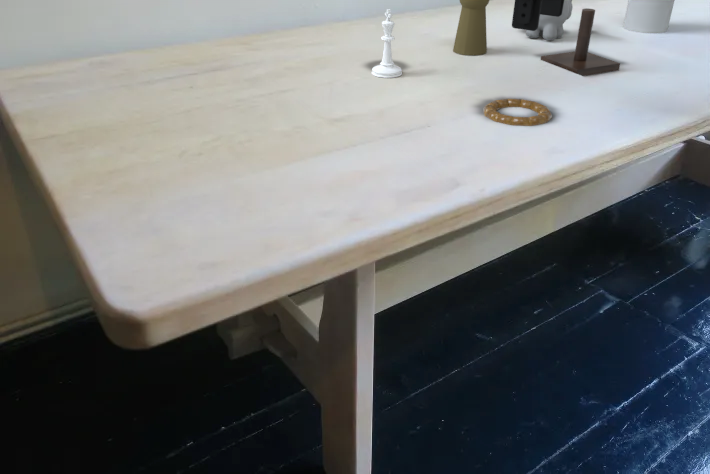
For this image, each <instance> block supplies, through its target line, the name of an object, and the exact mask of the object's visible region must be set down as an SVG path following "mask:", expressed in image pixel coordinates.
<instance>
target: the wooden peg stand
mask: <svg viewBox="0 0 710 474" xmlns="http://www.w3.org/2000/svg"><path fill="white" fill-rule="evenodd" d="M595 14H596V9H595V8H589V7H588V8H582V9H581V14H580V21H579V26H578V33H577V38H576V44H575V49H574V51H567V52H560V53H553V54H547V55H546V54H545V55H541V56H540V61H543V62H545V63H547V64H550V65H552V66H555V67H558V68H561V69H563V70H566V71H568V72H571V73H574V74H576V75H579V76H581V77H587V76H592V75H593V76H594V75H599V74H605V73H612V72H617V71H620V67H621V62H618V61H615V60H612V59H609V58H606V57H604V56H600V55H597V54H595V53H591V52H589V48H590V43H591V37H592V31H593V26H594V19H595Z"/></svg>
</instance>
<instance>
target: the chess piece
mask: <svg viewBox="0 0 710 474" xmlns="http://www.w3.org/2000/svg"><path fill="white" fill-rule="evenodd" d="M384 16H385V17H386V19H385V20H382V21H381V26H382V29H383V33H384V35H382V36H381V37H380V39H381V40H382V41H384V43H383V44H384V45H383V53H382V59H381V62H379V64H377V65H374V66H373V67H372V68H371V75H372V76H374V77H377V78H382V79H391V78H397V77H400V76H402V75H403V72H402V71H403V70H402V67H400V66H398V65H396V64H395V62H394V61H393V54H392V53H393V52H392V41H394V40H395V36H393V35H392V33H393V31H394V30H393V29H394V28H395V25H396V22H395V21H393V20H391V19H392V18H393V13H391V9H390V8H386V12H384Z"/></svg>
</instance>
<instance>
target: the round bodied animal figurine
mask: <svg viewBox="0 0 710 474" xmlns="http://www.w3.org/2000/svg"><path fill="white" fill-rule="evenodd" d="M572 1H573V0H564V5H563V11H562V15H561V16H559V17H556V16H549V15H541V14H540V18H539V25H538V29H537V30H535V31H530V30H525V36H526V37H527V38H531V39H538V38H539V37H542V38H543V39H544V40H546V41H550V40H555V39H560V38H562V37H563V36H564V24H565V23H566V21H568V20H569V19H570V18H571V16H572V12H573V9H574V8H573V3H572Z"/></svg>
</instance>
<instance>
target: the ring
mask: <svg viewBox="0 0 710 474" xmlns="http://www.w3.org/2000/svg"><path fill="white" fill-rule="evenodd" d="M504 108H522V109H527V110H531V111H533V112H535V113H537V115H532V116H512V115H508V114H504V113H500V112H499V111H498V110H500V109H504ZM482 111H483V115H484V117H485V118H488V119H489V120H491V121H492V122H495V123H499V124H502V125H503V124H504V125H508V126H516V127H517V126H518V127H532V126H540V125H544V124H547V123H548V122H549V121H551V120H552V119H553V115H552V113H551V110H550V108H548V106H546V105H544V104H541V103H539V102H537V101H534V100H528V99H525V98H502V99H496V100H492V101H491V102H489V103H488V104H486V105H485V106H484V107H483V109H482Z"/></svg>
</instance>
